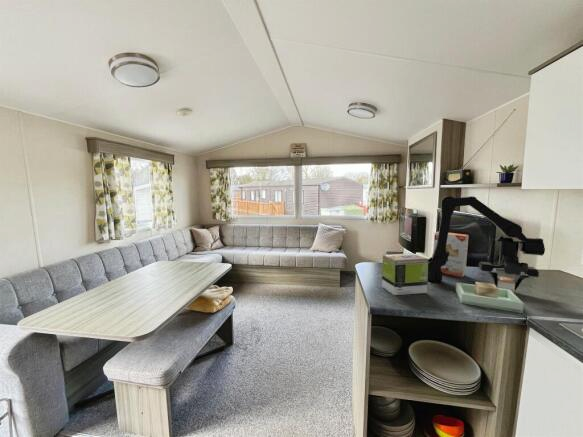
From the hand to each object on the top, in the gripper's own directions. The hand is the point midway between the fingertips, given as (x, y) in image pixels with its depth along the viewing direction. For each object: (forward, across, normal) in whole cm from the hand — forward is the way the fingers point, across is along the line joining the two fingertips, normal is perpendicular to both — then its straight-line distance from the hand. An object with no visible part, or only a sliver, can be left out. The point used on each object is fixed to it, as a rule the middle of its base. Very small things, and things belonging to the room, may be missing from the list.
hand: (505, 288), depth 108 cm
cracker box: (+1, -19, +17) cm, 26 cm away
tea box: (+1, -39, -19) cm, 43 cm away
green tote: (+1, -10, -16) cm, 19 cm away
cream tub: (+1, 0, 0) cm, 1 cm away
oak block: (0, -10, -16) cm, 19 cm away
